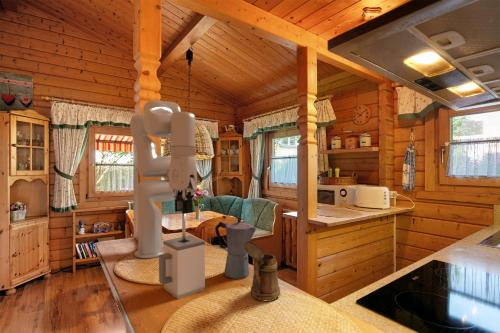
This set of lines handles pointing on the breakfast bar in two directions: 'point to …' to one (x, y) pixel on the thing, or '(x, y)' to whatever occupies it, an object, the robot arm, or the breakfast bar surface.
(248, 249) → the wooden mug
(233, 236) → the moka pot
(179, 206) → the plunger
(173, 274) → the carafe
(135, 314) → the breakfast bar surface
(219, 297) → the breakfast bar surface
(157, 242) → the robot arm
